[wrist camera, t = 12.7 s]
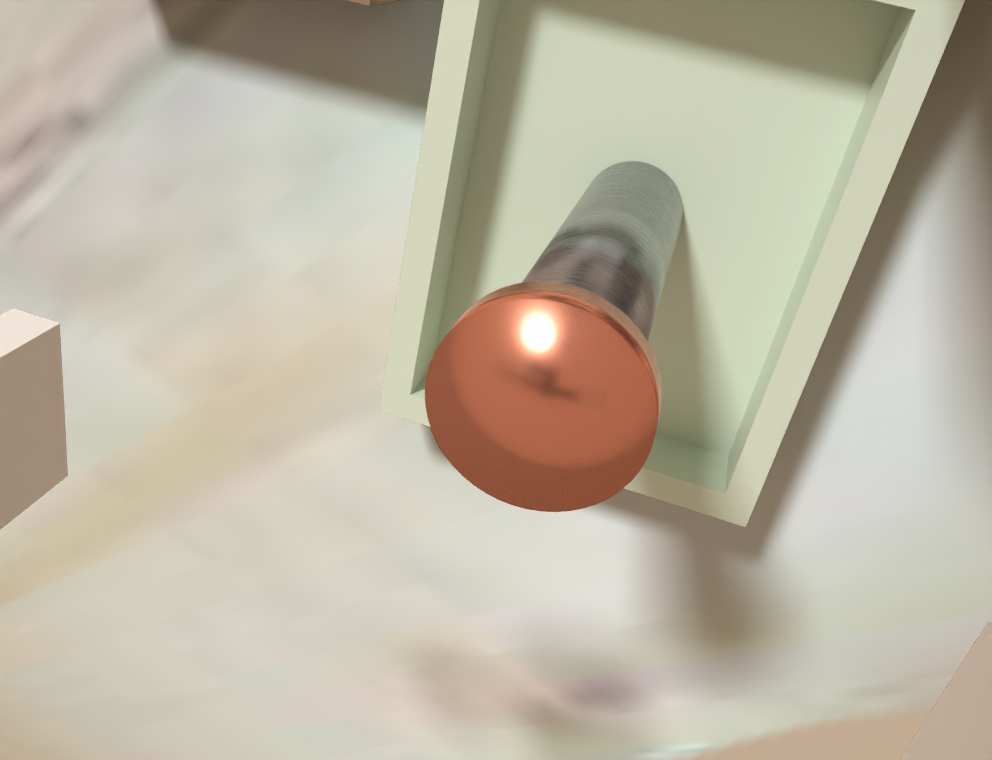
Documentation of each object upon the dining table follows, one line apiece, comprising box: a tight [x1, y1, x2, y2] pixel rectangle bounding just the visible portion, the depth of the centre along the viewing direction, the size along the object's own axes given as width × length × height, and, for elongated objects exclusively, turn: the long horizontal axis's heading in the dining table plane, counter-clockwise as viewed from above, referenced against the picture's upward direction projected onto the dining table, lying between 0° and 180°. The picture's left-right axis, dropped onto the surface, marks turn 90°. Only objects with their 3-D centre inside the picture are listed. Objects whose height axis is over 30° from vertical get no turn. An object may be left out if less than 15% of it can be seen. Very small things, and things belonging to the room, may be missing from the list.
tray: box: [379, 0, 965, 527], centre depth 28 cm, size 17×13×3 cm
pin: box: [425, 161, 683, 512], centre depth 23 cm, size 4×4×14 cm
